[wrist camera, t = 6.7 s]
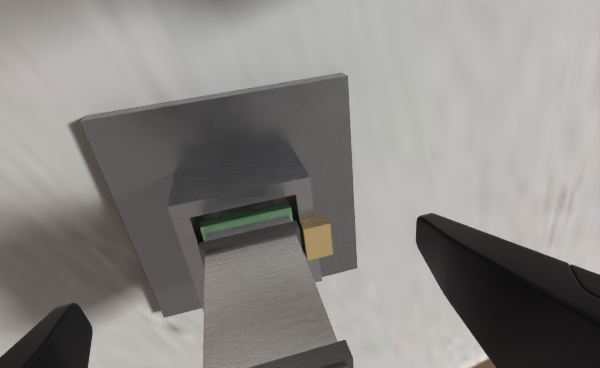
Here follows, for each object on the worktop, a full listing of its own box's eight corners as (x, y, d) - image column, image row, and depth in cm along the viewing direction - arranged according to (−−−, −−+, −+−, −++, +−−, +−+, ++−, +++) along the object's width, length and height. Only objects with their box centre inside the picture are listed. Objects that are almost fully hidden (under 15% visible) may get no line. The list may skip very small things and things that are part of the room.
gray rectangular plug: (288, 200, 18) (365, 388, 9) (298, 266, 20) (369, 471, 11) (200, 219, 17) (190, 442, 8) (220, 286, 19) (229, 520, 10)
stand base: (341, 72, 20) (386, 94, 15) (352, 259, 27) (385, 317, 22) (85, 115, 18) (38, 157, 13) (165, 306, 25) (154, 383, 20)
